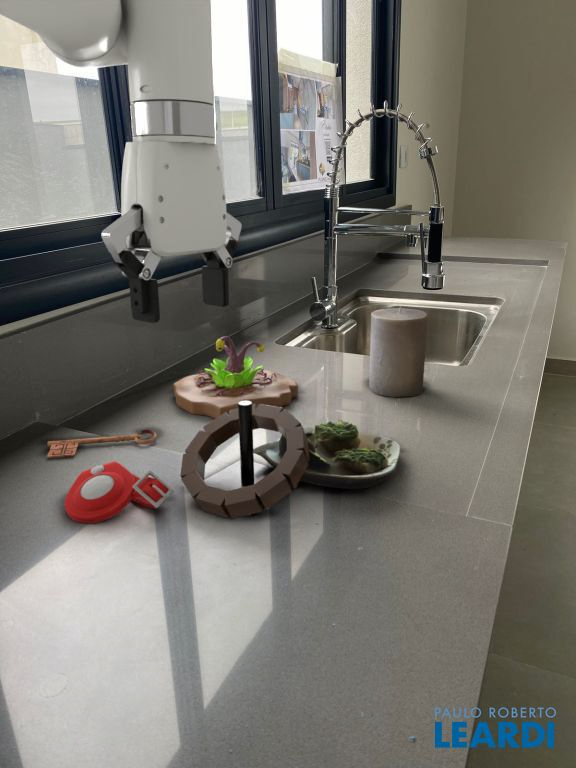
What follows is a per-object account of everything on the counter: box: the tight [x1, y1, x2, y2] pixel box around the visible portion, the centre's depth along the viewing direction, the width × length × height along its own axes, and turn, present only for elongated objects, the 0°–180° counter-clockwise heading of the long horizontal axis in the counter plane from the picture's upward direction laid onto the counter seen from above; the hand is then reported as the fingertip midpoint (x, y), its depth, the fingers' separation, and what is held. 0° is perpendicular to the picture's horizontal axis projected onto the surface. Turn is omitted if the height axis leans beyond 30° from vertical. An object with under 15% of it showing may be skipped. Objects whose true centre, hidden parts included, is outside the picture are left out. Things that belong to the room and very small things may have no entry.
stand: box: [204, 401, 300, 517], centre depth 71 cm, size 9×9×11 cm
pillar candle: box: [368, 305, 428, 398], centre depth 106 cm, size 10×10×15 cm
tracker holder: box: [64, 461, 175, 524], centre depth 70 cm, size 12×4×10 cm
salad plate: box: [253, 419, 401, 490], centre depth 80 cm, size 19×18×5 cm
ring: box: [179, 404, 309, 519], centre depth 71 cm, size 15×15×2 cm
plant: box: [173, 336, 299, 419], centre depth 103 cm, size 20×20×11 cm
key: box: [46, 429, 157, 459], centre depth 85 cm, size 6×1×15 cm
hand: (183, 312), depth 61 cm, fingers open, 9 cm apart
